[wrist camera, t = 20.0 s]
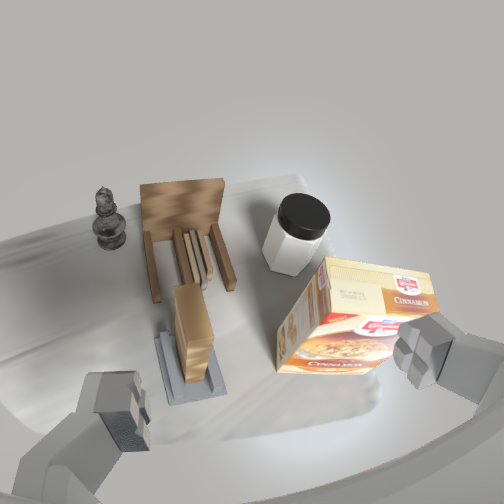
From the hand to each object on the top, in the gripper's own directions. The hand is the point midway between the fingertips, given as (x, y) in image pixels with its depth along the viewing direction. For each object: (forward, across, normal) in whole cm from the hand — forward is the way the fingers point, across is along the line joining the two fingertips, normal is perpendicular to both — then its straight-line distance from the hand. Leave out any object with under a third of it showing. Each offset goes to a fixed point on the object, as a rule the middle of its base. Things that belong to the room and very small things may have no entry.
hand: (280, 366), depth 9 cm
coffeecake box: (+29, +15, -27) cm, 42 cm away
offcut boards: (+43, -2, -15) cm, 45 cm away
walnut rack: (+43, -4, -14) cm, 46 cm away
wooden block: (+28, -5, -23) cm, 37 cm away
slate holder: (+28, -5, -24) cm, 37 cm away
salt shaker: (+47, -17, -10) cm, 51 cm away
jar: (+45, +14, -17) cm, 50 cm away
